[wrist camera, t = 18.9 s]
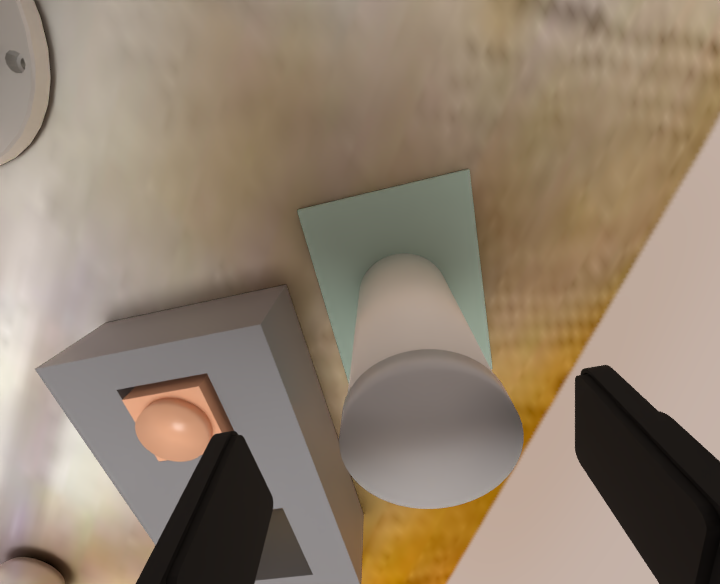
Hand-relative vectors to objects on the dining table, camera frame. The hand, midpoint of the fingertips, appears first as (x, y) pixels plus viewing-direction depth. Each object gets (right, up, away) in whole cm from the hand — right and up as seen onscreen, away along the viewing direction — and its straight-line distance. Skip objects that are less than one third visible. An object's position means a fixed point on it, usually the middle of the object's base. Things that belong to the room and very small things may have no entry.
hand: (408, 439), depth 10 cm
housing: (-9, -6, +15) cm, 19 cm away
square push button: (-11, -1, +13) cm, 17 cm away
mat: (+1, +4, +11) cm, 12 cm away
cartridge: (+1, +4, +10) cm, 11 cm away
